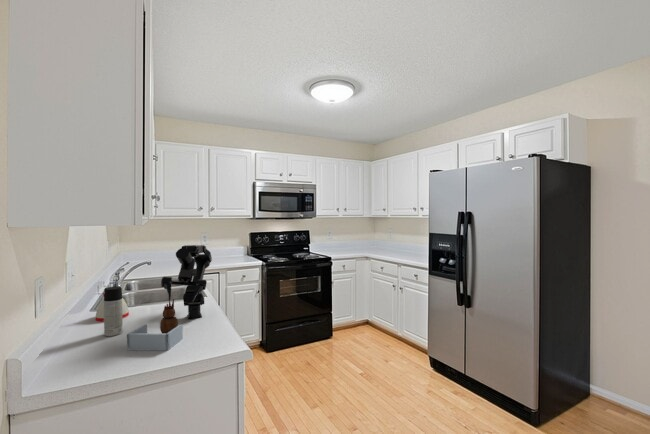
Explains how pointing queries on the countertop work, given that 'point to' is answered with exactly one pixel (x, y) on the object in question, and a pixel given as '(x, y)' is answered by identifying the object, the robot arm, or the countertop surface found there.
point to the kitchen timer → (101, 310)
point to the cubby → (153, 339)
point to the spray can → (113, 311)
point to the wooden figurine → (168, 319)
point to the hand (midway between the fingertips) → (180, 301)
